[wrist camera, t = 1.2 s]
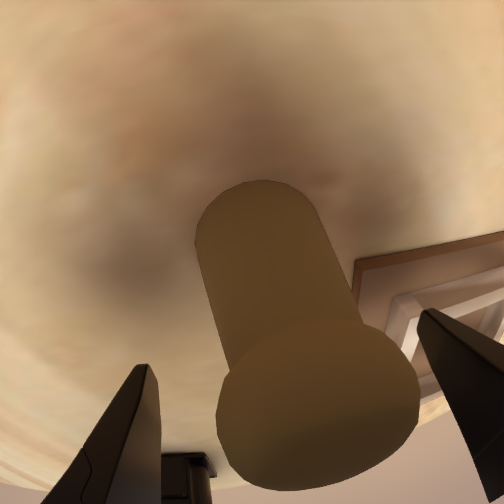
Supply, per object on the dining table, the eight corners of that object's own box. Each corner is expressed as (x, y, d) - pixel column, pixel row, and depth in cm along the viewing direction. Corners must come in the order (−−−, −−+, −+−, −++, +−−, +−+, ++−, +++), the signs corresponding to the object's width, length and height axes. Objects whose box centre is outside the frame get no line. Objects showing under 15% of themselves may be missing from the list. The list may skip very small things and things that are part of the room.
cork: (220, 161, 13) (279, 393, 4) (341, 205, 15) (497, 387, 5) (179, 277, 16) (177, 510, 6) (288, 303, 17) (359, 496, 8)
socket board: (470, 364, 26) (484, 384, 23) (332, 415, 25) (342, 442, 22) (525, 226, 18) (550, 244, 15) (355, 261, 17) (379, 294, 14)
